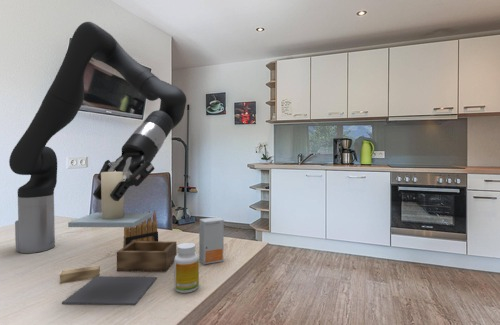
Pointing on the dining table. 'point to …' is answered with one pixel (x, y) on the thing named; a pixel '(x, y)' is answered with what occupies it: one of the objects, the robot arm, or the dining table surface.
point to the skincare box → (211, 240)
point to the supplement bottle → (186, 268)
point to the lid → (110, 208)
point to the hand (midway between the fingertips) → (105, 197)
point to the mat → (111, 291)
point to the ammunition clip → (142, 231)
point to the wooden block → (79, 274)
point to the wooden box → (146, 256)
